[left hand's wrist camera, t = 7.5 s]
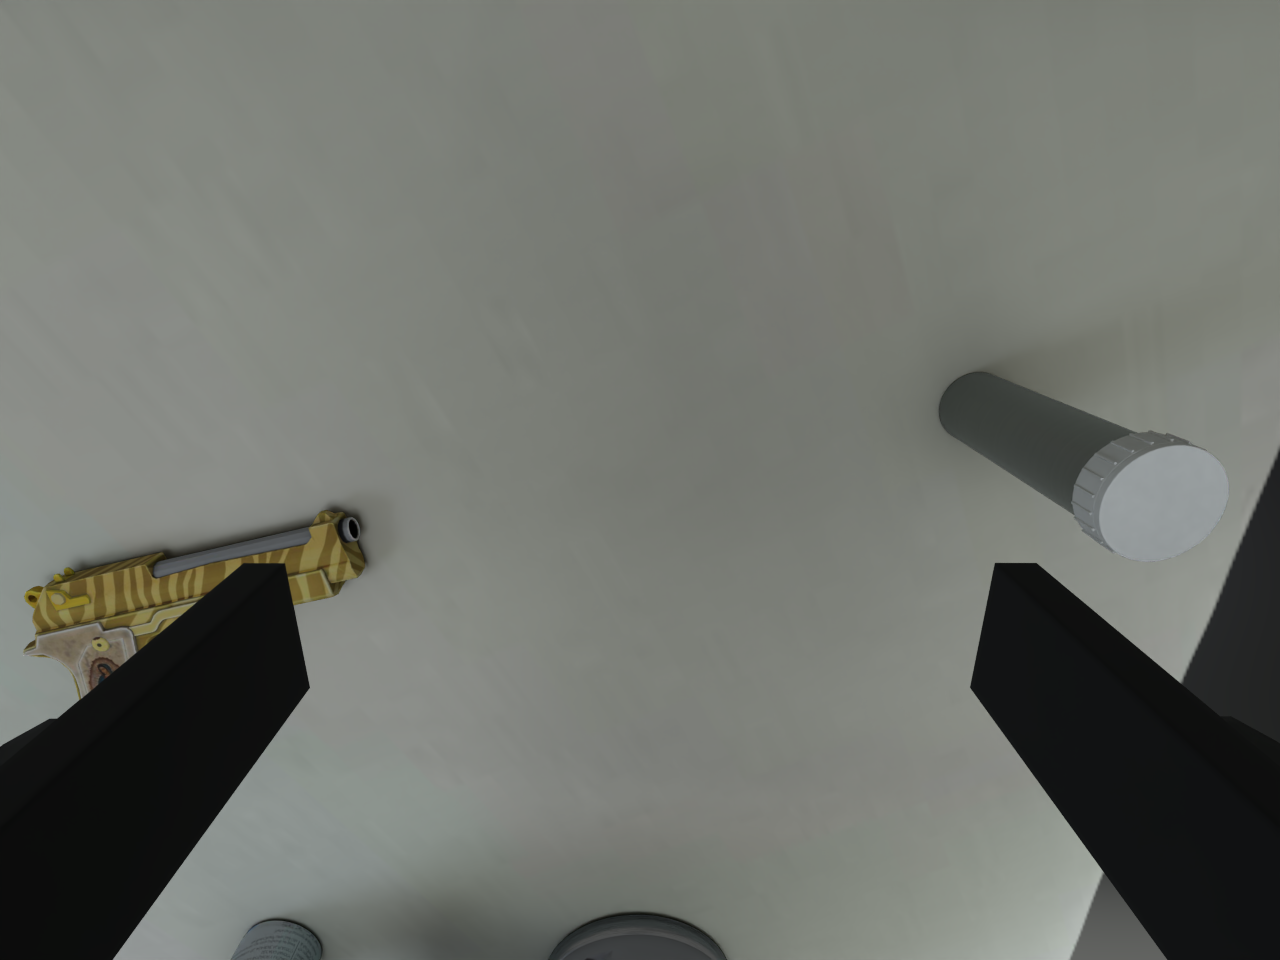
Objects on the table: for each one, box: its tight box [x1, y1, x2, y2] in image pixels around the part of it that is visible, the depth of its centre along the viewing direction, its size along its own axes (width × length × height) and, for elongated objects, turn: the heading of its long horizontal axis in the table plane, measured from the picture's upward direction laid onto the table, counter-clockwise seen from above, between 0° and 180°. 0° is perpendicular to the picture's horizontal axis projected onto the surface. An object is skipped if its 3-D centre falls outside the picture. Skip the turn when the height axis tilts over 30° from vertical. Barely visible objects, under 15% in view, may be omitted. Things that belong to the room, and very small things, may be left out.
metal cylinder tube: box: [939, 372, 1136, 515], centre depth 32 cm, size 4×4×15 cm
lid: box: [1071, 431, 1229, 562], centre depth 26 cm, size 5×5×2 cm
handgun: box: [23, 510, 365, 700], centre depth 43 cm, size 2×23×15 cm
